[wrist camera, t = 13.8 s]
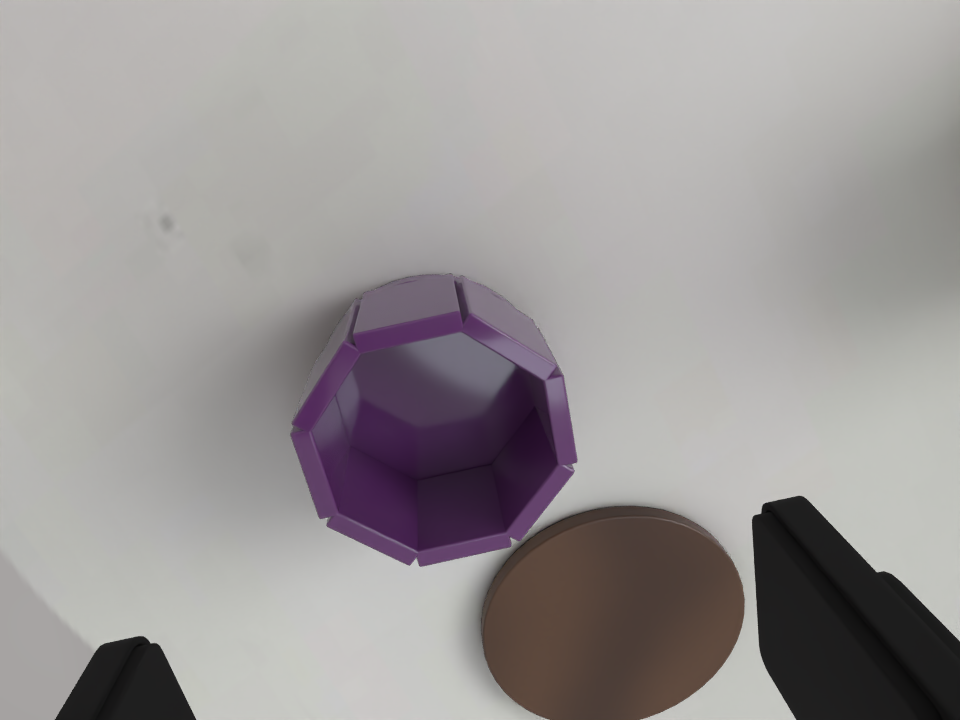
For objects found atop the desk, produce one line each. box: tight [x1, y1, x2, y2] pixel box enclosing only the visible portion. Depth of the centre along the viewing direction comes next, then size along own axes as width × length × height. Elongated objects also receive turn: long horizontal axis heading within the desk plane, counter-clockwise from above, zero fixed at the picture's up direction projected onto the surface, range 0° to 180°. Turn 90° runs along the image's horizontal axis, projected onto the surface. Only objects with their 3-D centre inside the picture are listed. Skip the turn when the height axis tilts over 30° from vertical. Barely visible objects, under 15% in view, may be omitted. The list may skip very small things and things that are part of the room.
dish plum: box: [290, 273, 577, 567], centre depth 18 cm, size 6×6×4 cm
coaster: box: [481, 506, 745, 720], centre depth 23 cm, size 9×9×1 cm
